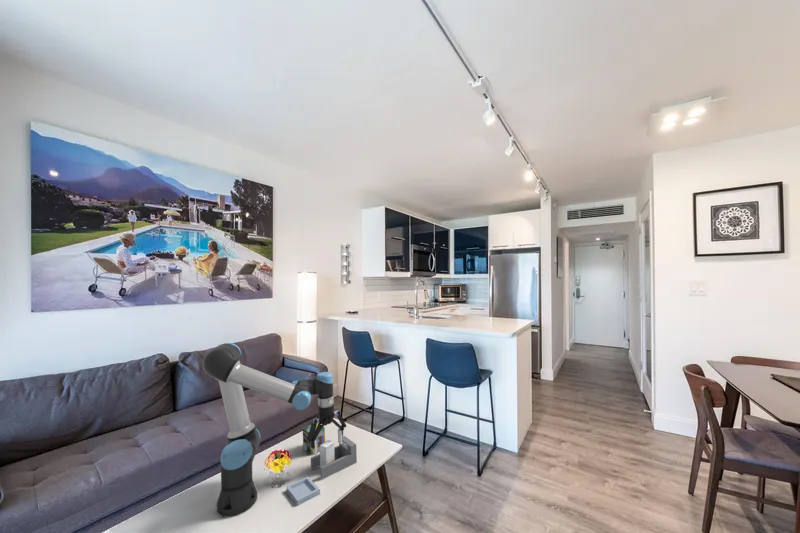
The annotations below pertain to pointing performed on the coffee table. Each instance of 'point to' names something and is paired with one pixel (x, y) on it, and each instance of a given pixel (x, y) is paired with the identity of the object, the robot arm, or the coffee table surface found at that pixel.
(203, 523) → the coffee table surface
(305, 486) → the tray
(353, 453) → the dock
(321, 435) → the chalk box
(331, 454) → the skincare box
